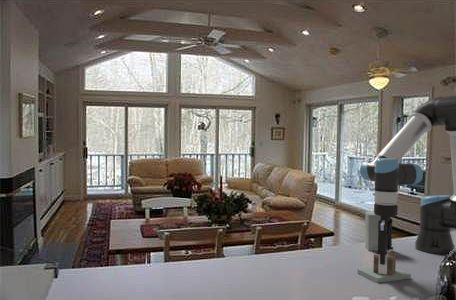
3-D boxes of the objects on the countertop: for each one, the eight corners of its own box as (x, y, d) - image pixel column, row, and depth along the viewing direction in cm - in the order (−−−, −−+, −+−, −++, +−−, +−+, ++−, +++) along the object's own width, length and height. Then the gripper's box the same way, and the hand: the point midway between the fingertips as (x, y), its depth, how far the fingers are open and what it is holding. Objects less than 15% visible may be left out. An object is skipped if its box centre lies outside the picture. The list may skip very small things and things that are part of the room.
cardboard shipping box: (377, 267, 148) (377, 251, 147) (395, 270, 144) (395, 253, 144) (373, 272, 142) (373, 254, 142) (392, 275, 139) (392, 257, 139)
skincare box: (384, 247, 181) (384, 211, 181) (388, 252, 174) (389, 214, 174) (363, 246, 182) (364, 210, 182) (367, 251, 175) (368, 213, 175)
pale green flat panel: (389, 269, 151) (390, 254, 151) (410, 278, 142) (411, 262, 141) (357, 273, 146) (357, 257, 146) (377, 282, 137) (377, 266, 137)
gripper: (379, 199, 153) (378, 262, 154) (368, 206, 137) (367, 276, 137) (401, 201, 149) (400, 265, 150) (393, 208, 133) (391, 280, 133)
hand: (384, 270), depth 144 cm, fingers closed on cardboard shipping box, 6 cm apart
